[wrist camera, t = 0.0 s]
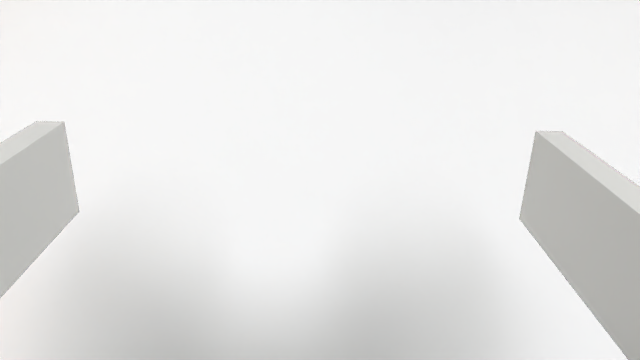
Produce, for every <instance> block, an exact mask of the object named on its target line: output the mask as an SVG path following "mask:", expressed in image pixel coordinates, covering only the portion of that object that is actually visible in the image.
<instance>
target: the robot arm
mask: <svg viewBox="0 0 640 360" xmlns="http://www.w3.org/2000/svg"><path fill="white" fill-rule="evenodd" d="M78 212H79V206H78V200H77V194H76V188H75V183H74V177H73V171H72V165H71V159H70V153H69V147H68V141H67V135H66V129H65V124H64V122H50V121H36V122H34V123H32V124H31V125H29V126H27V127H26V128H24V129H23V130H21V131H19V132H18V133H16V134H14V135H13V136H11V137H9V138H8V139H6V140H4V141H3V142H1V143H0V298H1V297H2V296H3V295H4V294H5V293H6V291H7V290H8V289H9V288H10V287H11V286H12V285H13V284H14V283H15V282H16V281H17V279H18V278H19V277H20V276H21V275H22V274H23V273H24V272H25V271H26V270H27V268H28V267H29V266H30V265H31V264H32V263H33V262H34V261H35V260H36V259H37V257H38V256H39V255H40V254H41V253H42V252H43V251H44V250H45V249H46V248H47V246H48V245H49V244H50V243H51V242H52V241H53V240H54V239H55V238H56V237H57V235H58V234H59V233H60V232H61V231H62V230H63V229H64V228H65V227H66V226H67V224H68V223H69V222H70V221H71V220H72V219H73V218H74V217H75V216H76V215H77V213H78ZM519 219H520V220H521V222H522V223H523V224H524V226H525V227H526V228H527V229H528V231H529V232H530V233H531V235H532V236H533V237H534V238H535V240H536V241H537V242H538V244H539V245H540V246H541V247H542V249H543V250H544V251H545V253H546V254H547V255H548V257H549V258H550V259H551V260H552V262H553V263H554V264H555V266H556V267H557V268H558V269H559V271H560V272H561V273H562V275H563V276H564V277H565V279H566V280H567V281H568V282H569V284H570V285H571V286H572V288H573V289H574V290H575V291H576V293H577V294H578V295H579V297H580V298H581V299H582V301H583V302H584V303H585V304H586V306H587V307H588V308H589V310H590V311H591V312H592V313H593V315H594V316H595V317H596V319H597V320H598V321H599V323H600V324H601V325H602V326H603V328H604V329H605V330H606V332H607V333H608V334H609V335H610V337H611V338H612V339H613V341H614V342H615V343H616V345H617V346H618V347H619V348H620V350H621V351H622V352H623V354H624V355H625V356H626V357H627V359H628V360H640V186H638V185H637V184H635V183H634V182H633V181H631V180H630V179H628V178H627V177H626V176H624V175H623V174H621V173H620V172H619V171H617V170H616V169H614V168H613V167H612V166H610V165H609V164H607V163H606V162H605V161H603V160H602V159H601V158H599V157H598V156H596V155H595V154H594V153H592V152H591V151H589V150H588V149H587V148H585V147H584V146H582V145H581V144H580V143H578V142H577V141H575V140H574V139H573V138H571V137H570V136H568V135H567V134H566V133H564V132H563V131H536V132H535V138H534V143H533V148H532V153H531V159H530V164H529V169H528V175H527V180H526V185H525V190H524V196H523V201H522V206H521V212H520V217H519Z"/></svg>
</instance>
